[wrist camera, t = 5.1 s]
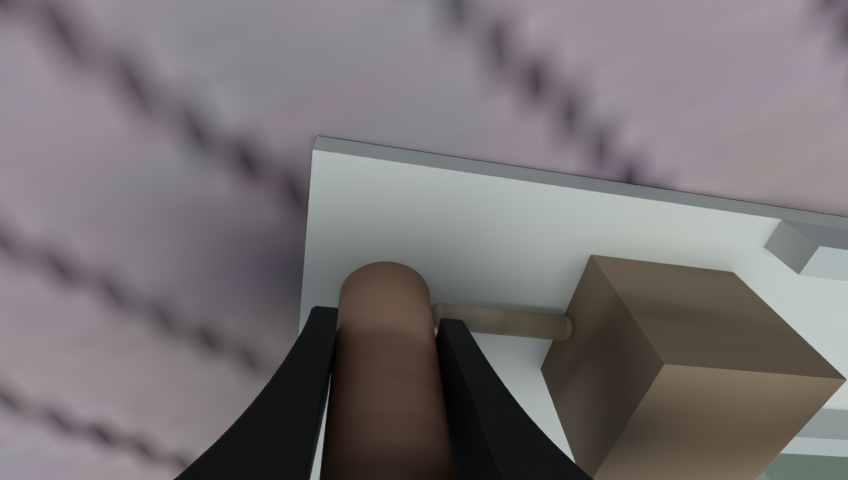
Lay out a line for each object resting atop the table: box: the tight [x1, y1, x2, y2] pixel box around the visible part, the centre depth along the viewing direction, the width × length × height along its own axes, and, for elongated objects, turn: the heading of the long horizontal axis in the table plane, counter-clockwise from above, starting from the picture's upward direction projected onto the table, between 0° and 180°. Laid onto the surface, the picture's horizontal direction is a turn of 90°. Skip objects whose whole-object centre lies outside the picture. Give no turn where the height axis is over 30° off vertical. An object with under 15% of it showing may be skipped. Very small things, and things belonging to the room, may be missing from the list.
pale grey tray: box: [298, 136, 848, 480], centre depth 19 cm, size 17×26×2 cm, turn 79°
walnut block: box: [319, 254, 847, 480], centre depth 13 cm, size 5×12×6 cm, turn 79°
